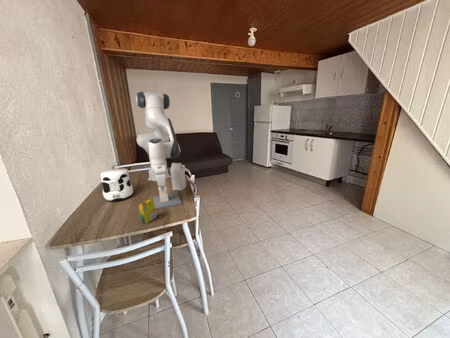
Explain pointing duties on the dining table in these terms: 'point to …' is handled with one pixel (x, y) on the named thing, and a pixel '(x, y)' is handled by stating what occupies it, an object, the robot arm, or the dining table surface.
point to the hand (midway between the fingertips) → (162, 189)
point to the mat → (172, 198)
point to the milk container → (116, 184)
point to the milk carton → (178, 176)
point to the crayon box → (147, 210)
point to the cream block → (163, 194)
